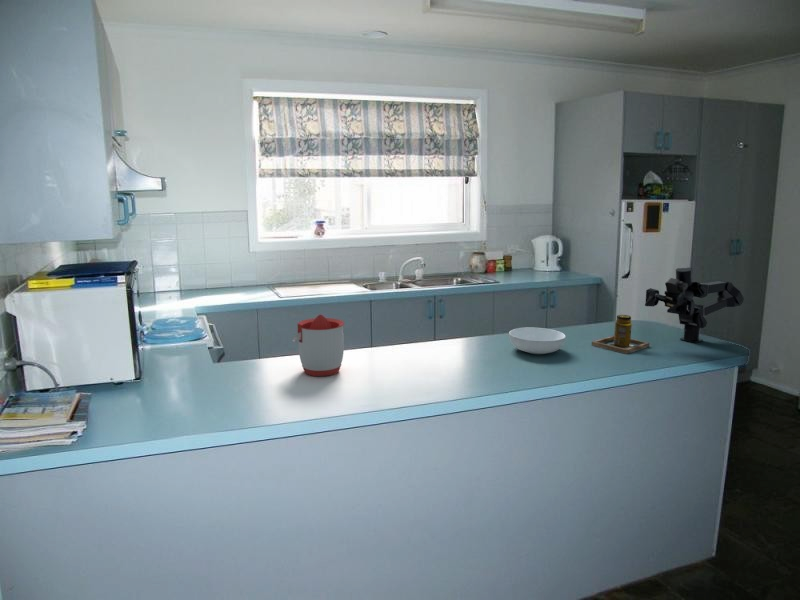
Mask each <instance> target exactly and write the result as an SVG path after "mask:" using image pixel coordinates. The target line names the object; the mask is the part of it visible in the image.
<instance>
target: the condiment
mask: <svg viewBox="0 0 800 600" xmlns="http://www.w3.org/2000/svg"><path fill="white" fill-rule="evenodd" d="M632 327H633V324H632V316H630V315H627V314H618V315H616V322H615V324H614V334H613V336H614V340H613V342H612V343H610V344H608V345H611V346H615V347H619V348H623V349H627V348H631V347H634V346H635V344H631V343H630V339H632V338H631V337H632V336H631V335H632Z"/></svg>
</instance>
